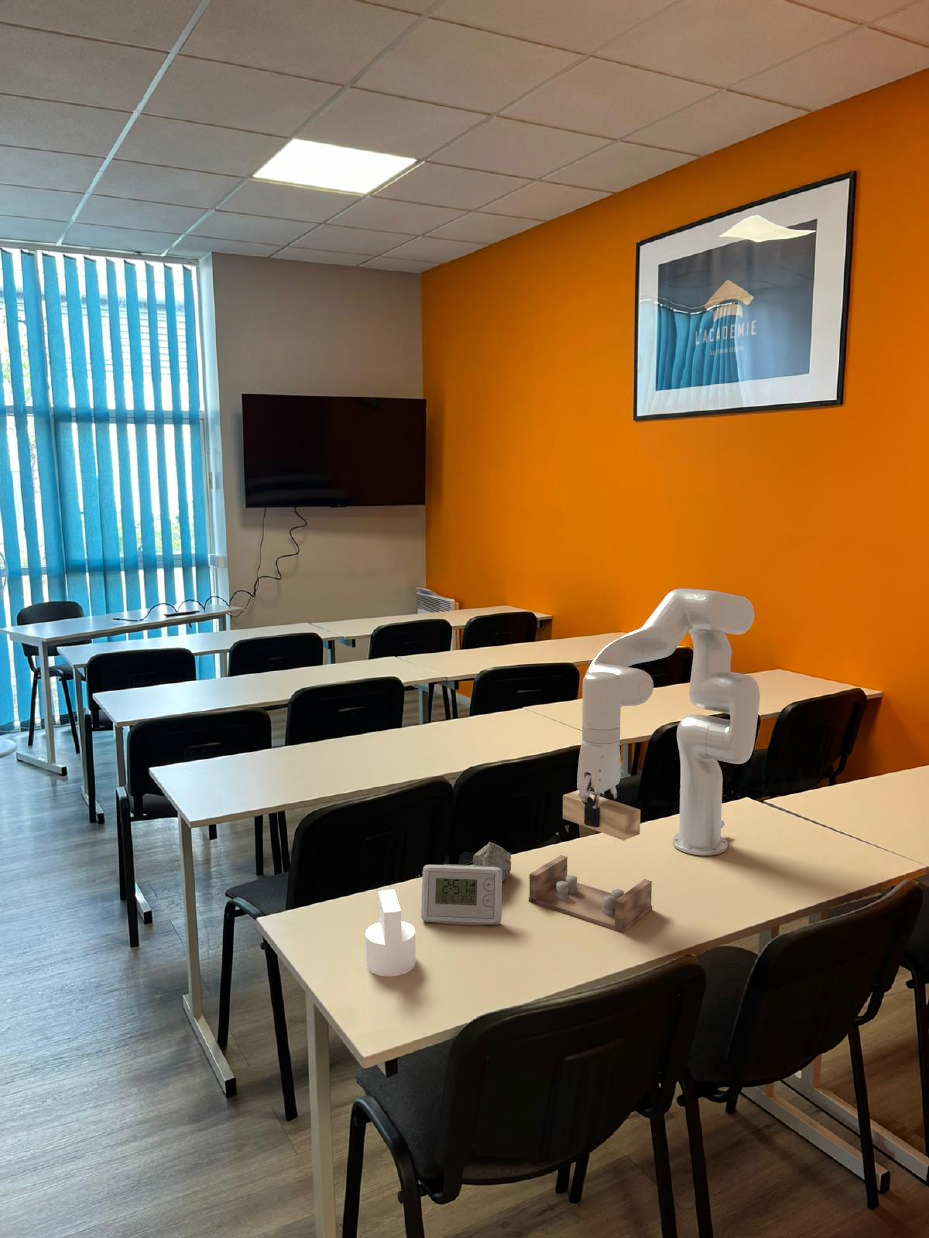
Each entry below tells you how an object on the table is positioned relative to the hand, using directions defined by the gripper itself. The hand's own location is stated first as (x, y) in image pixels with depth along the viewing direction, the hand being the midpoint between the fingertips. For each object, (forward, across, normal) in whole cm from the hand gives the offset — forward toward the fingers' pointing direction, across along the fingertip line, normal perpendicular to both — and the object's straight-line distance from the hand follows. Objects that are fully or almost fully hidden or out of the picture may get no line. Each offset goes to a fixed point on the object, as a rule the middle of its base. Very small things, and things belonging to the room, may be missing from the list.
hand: (599, 820), depth 181 cm
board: (+1, 0, 0) cm, 1 cm away
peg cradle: (+18, +1, -1) cm, 18 cm away
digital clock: (+19, +21, -19) cm, 34 cm away
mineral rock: (+18, +5, -23) cm, 30 cm away
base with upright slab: (+19, +42, -19) cm, 50 cm away
